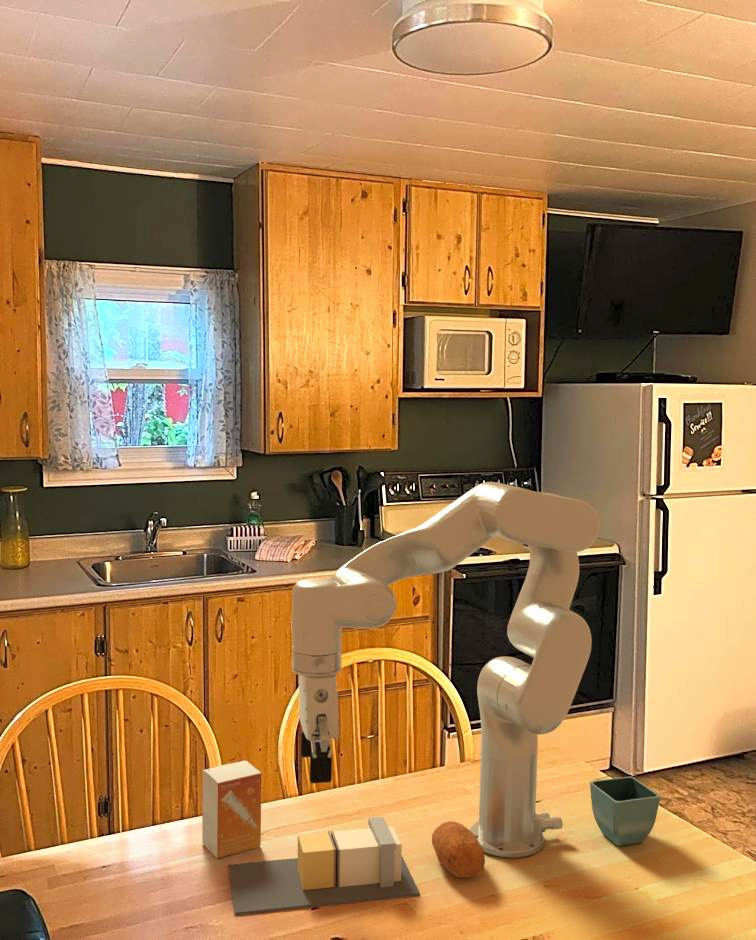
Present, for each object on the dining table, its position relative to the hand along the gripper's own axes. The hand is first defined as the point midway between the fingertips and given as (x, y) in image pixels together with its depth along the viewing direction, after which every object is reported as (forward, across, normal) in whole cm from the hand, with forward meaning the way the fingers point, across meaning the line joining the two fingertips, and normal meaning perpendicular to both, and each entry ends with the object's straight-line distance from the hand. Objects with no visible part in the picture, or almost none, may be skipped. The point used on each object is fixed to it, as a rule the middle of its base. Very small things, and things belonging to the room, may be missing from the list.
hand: (315, 768), depth 148 cm
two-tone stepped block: (+18, 0, -8) cm, 20 cm away
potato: (+19, 0, -23) cm, 30 cm away
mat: (+18, 0, -1) cm, 18 cm away
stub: (+18, 0, 0) cm, 18 cm away
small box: (+18, +14, +12) cm, 26 cm away
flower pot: (+19, +4, -54) cm, 57 cm away
